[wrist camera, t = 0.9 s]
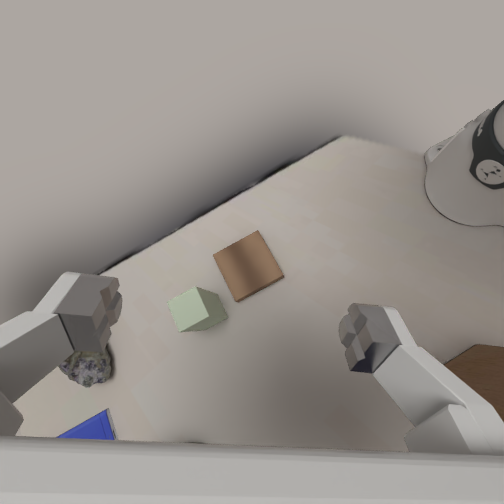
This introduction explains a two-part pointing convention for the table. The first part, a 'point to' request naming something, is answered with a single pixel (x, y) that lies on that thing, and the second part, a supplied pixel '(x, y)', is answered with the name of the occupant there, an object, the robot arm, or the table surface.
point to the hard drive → (94, 428)
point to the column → (196, 310)
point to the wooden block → (482, 373)
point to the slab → (248, 266)
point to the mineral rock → (87, 367)
